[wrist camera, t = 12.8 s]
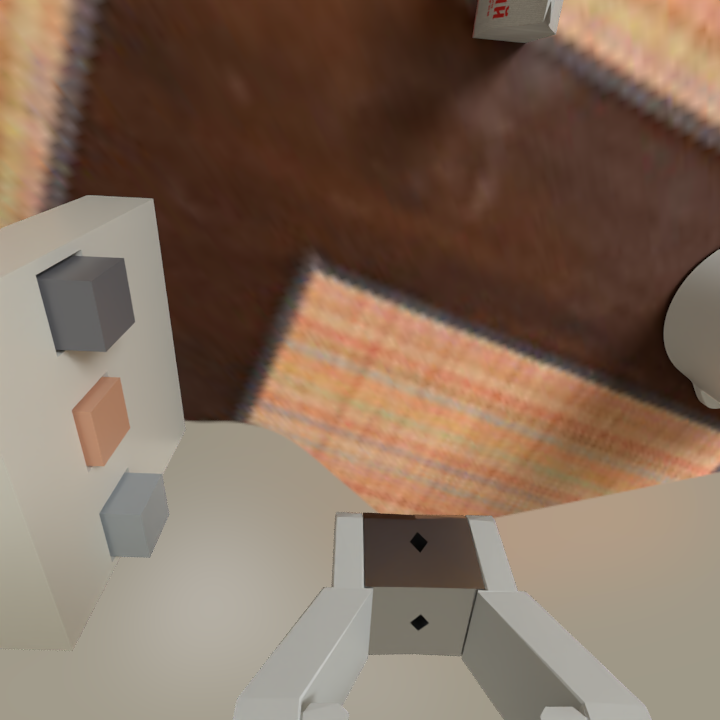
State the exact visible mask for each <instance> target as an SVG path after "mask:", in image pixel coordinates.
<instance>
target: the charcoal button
mask: <svg viewBox="0 0 720 720" xmlns="http://www.w3.org/2000/svg"><path fill="white" fill-rule="evenodd" d="M36 278H37V282H38V286H39V289H40V293H41V297H42V301H43V304H44V308H45V312H46V316H47V319H48V323H49V327H50V331H51V334H52V338H53V342H54V346H55V350H71V351H95V352H107V351H108V350H109V349H110V348H111V347H112V345H113V344H114V343H115V342H116V341H117V340H118V339H119V338H120V337H121V336H122V335H123V334H124V333H125V332H126V331H127V330H128V329H129V328H130V327H131V326H132V325H133V324H134V323H135V318H134V312H133V306H132V301H131V295H130V289H129V284H128V278H127V272H126V267H125V261H124V258H112V257H91V256H69V257H67V258H65V259H63V260H62V261H60V262H58V263H56V264H55V265H53V266H51V267H49V268H48V269H46V270H44V271H42V272H40V273H39V274H37V275H36Z"/></svg>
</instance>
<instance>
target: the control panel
mask: <svg viewBox="0 0 720 720" xmlns="http://www.w3.org/2000/svg"><path fill="white" fill-rule="evenodd" d="M69 256H91V257H112V258H124V261H125V267H126V272H127V278H128V284H129V289H130V295H131V301H132V306H133V312H134V318H135V323H134V324H133V325H132V326H131V327H130V328H129V329H128V330H127V331H126V332H125V333H124V334H123V335H122V336H121V337H120V338H119V339H118V340H117V341H116V342H115V343H114V344H113V345H112V347H111V348H110V349H109V350H108V351H107V352H95V351H71V350H55V346H54V342H53V338H52V334H51V331H50V327H49V323H48V319H47V316H46V312H45V308H44V304H43V301H42V297H41V293H40V289H39V286H38V282H37V278H36V275H37V274H39V273H40V272H42V271H44V270H46V269H48V268H49V267H51V266H53V265H55V264H56V263H58V262H60V261H62V260H63V259H65V258H67V257H69ZM101 377H120V380H121V385H122V390H123V395H124V400H125V404H126V409H127V414H128V419H129V424H130V429H129V430H128V432H127V433H126V435H125V436H124V438H123V439H122V441H121V442H120V444H119V445H118V447H117V448H116V450H115V451H114V453H113V454H112V456H111V457H110V458H109V460H108V461H107V463H106V464H105V466H86V462H85V459H84V455H83V451H82V447H81V444H80V440H79V436H78V432H77V429H76V425H75V421H74V417H73V413H72V409H73V408H74V407H75V406H76V405H77V404H78V403H79V402H80V400H81V399H82V398H83V397H84V396H85V395H86V394H87V393H88V392H89V390H90V389H91V388H92V387H93V386H94V385H95V384H96V383H97V382H98V380H99V379H100V378H101ZM184 432H185V422H184V415H183V408H182V401H181V394H180V387H179V380H178V372H177V365H176V358H175V351H174V344H173V337H172V330H171V322H170V315H169V308H168V301H167V294H166V287H165V280H164V273H163V265H162V258H161V251H160V244H159V237H158V230H157V223H156V215H155V208H154V201H153V199H151V198H132V197H112V196H92V195H87V196H84V197H82V198H79V199H77V200H74V201H71V202H69V203H66V204H63V205H61V206H58V207H56V208H53V209H50V210H48V211H45V212H42V213H40V214H37V215H35V216H32V217H29V218H27V219H24V220H21V221H19V222H16V223H14V224H11V225H8V226H6V227H3V228H0V649H27V650H28V649H29V650H64V651H65V650H66V651H73V649H74V647H75V645H76V643H77V641H78V640H79V637H80V636H81V634H82V632H83V629H84V628H85V626H86V624H87V622H88V620H89V618H90V616H91V614H92V612H93V610H94V608H95V606H96V604H97V602H98V600H99V598H100V596H101V594H102V593H103V591H104V589H105V587H106V585H107V583H108V581H109V579H110V577H111V575H112V573H113V571H114V569H115V567H116V565H117V563H118V561H119V559H120V557H118V556H110V553H109V549H108V545H107V541H106V538H105V534H104V530H103V526H102V523H101V519H100V515H99V513H100V512H101V510H102V508H103V507H104V505H105V503H106V502H107V500H108V499H109V497H110V495H111V494H112V492H113V490H114V489H115V487H116V486H117V484H118V482H119V481H120V479H121V477H122V476H123V474H124V473H152V474H162V475H163V473H164V471H165V469H166V467H167V465H168V463H169V461H170V460H171V458H172V456H173V454H174V451H175V450H176V448H177V446H178V444H179V442H180V440H181V438H182V436H183V434H184Z"/></svg>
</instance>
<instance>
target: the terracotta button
mask: <svg viewBox="0 0 720 720" xmlns="http://www.w3.org/2000/svg"><path fill="white" fill-rule="evenodd" d="M72 413H73V417H74V421H75V425H76V429H77V432H78V436H79V440H80V444H81V447H82V451H83V455H84V459H85V462H86V466H105V464H106V463H107V461H108V460H109V458H110V457H111V456H112V454H113V453H114V451H115V450H116V448H117V447H118V445H119V444H120V442H121V441H122V439H123V438H124V436H125V435H126V433H127V432H128V430H129V429H130V424H129V419H128V414H127V409H126V404H125V400H124V395H123V390H122V385H121V380H120V377H101V378H100V379H99V380H98V382H97V383H96V384H95V385H94V386H93V387H92V388H91V389H90V390H89V392H88V393H87V394H86V395H85V396H84V397H83V398H82V399H81V400H80V402H79V403H78V404H77V405H76V406H75V407H74V408H73V409H72Z"/></svg>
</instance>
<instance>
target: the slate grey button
mask: <svg viewBox="0 0 720 720" xmlns="http://www.w3.org/2000/svg"><path fill="white" fill-rule="evenodd" d="M99 515H100V519H101V523H102V526H103V530H104V534H105V538H106V541H107V545H108V549H109V553H110V556H118V557H150V556H151V554H152V552H153V549H154V547H155V545H156V543H157V541H158V538H159V536H160V534H161V532H162V529H163V527H164V525H165V523H166V520H167V518H168V516H169V510H168V505H167V499H166V493H165V488H164V482H163V476H162V474H152V473H124V474H123V476H122V477H121V479H120V481H119V482H118V484H117V486H116V487H115V489H114V490H113V492H112V494H111V495H110V497H109V499H108V500H107V502H106V503H105V505H104V507H103V508H102V510H101V512H100V513H99Z"/></svg>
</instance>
